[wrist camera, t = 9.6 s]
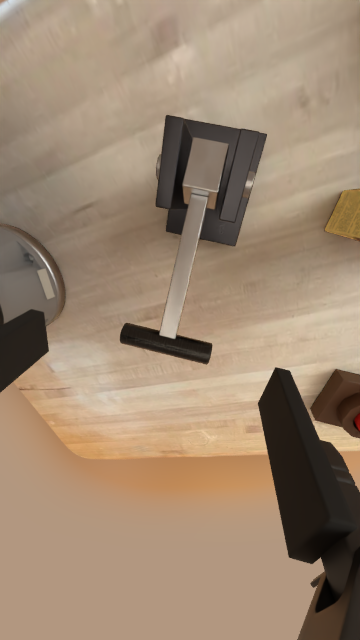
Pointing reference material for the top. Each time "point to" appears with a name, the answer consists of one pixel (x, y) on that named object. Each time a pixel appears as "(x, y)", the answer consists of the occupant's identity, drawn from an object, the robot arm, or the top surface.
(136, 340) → the lever
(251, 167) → the bracket
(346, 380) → the button box
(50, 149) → the top surface
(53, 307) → the robot arm
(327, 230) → the candy box
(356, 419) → the button
